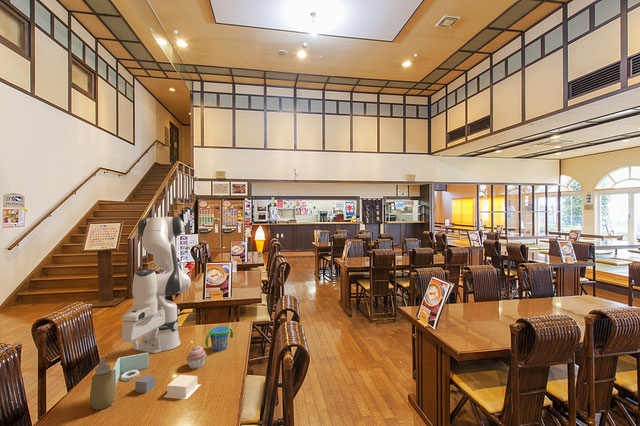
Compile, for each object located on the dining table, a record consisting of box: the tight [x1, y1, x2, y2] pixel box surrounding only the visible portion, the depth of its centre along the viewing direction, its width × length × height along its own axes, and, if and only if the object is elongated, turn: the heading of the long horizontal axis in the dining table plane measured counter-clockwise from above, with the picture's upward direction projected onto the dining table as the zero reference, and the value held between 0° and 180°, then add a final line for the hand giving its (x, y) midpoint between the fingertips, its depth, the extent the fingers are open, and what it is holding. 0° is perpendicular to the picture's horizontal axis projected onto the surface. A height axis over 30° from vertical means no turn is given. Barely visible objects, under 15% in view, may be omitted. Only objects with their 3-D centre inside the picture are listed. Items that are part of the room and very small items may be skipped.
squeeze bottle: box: [89, 356, 117, 411], centre depth 113 cm, size 8×8×18 cm
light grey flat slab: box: [163, 383, 201, 400], centre depth 121 cm, size 18×14×1 cm
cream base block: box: [166, 374, 198, 397], centre depth 121 cm, size 8×8×4 cm
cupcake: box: [186, 345, 208, 370], centre depth 142 cm, size 9×9×10 cm
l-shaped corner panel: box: [112, 352, 149, 387], centre depth 134 cm, size 12×12×8 cm
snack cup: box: [204, 325, 234, 352], centre depth 161 cm, size 16×10×10 cm
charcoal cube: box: [135, 374, 156, 394], centre depth 123 cm, size 5×5×5 cm
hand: (145, 343), depth 123 cm, fingers open, 8 cm apart
